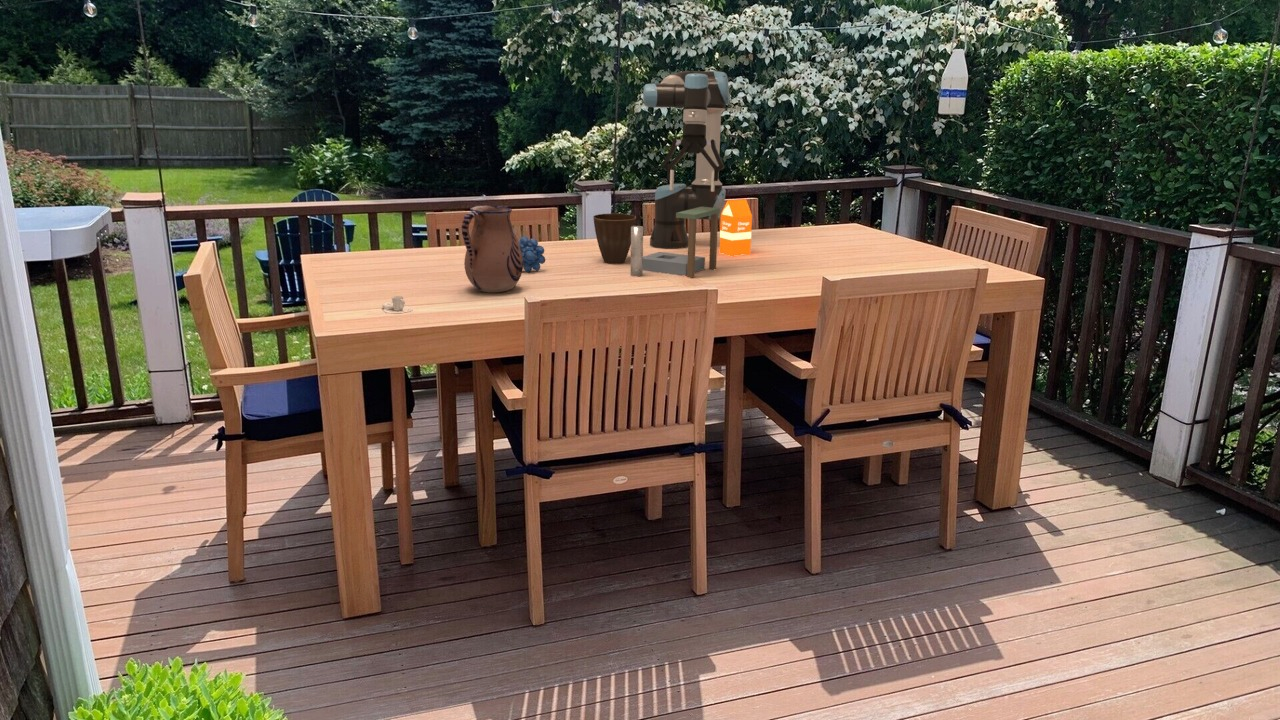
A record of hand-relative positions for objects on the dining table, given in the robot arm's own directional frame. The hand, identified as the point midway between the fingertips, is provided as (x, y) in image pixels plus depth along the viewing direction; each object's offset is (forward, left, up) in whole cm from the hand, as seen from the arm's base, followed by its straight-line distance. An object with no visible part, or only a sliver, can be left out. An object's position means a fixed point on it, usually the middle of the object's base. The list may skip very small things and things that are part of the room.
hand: (691, 191), depth 301 cm
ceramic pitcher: (-38, -57, -27) cm, 74 cm away
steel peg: (-13, -13, -27) cm, 33 cm away
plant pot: (-31, +2, -27) cm, 41 cm away
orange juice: (-2, +40, -27) cm, 48 cm away
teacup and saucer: (-46, -87, -28) cm, 102 cm away
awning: (+2, +2, -27) cm, 27 cm away
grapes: (-45, -29, -27) cm, 60 cm away
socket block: (-8, +2, -27) cm, 28 cm away
